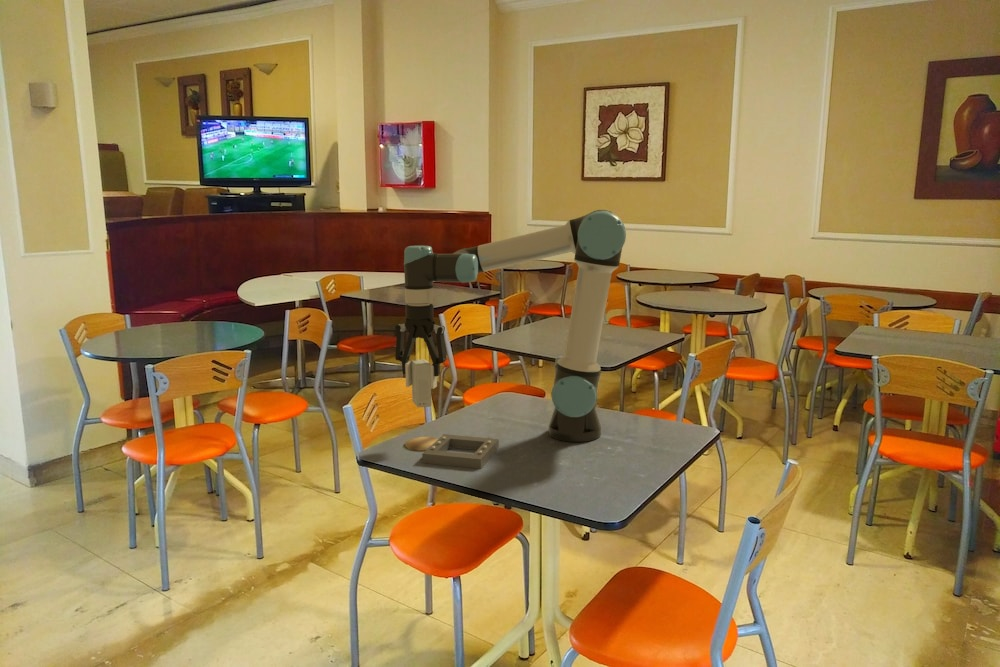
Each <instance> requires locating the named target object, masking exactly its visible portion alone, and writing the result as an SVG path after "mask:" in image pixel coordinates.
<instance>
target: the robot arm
mask: <svg viewBox="0 0 1000 667" xmlns="http://www.w3.org/2000/svg"><path fill="white" fill-rule="evenodd" d="M626 236H627V231H626V228H625V225H624V222H623V221H622V219H621V217H619V216H618V215H617V214H616V213H614V212H613V211H610V210H606V209H597V210H593V211H591V212H589V213H587V214H585V215H582V216H580V217H577V218H573V219H568V221H567V222H566V223H565V224H563V225H560V226H556V227H551V228H547V229H543V230H538V231H535V232H528V233H526V234H522V235H518V236H513V237H509V238H505V239H500V240H497V241H493V242H492V241H491V242H489V243H484V244H479V245H477V246H472V247H468V248H467V247H466V248H461V249H457V250H456V251H455V252H453V253H435V252H433V248H432V246H431V245H430V246H429V245H408V246H406V247H405V248H404V252H403V253H404V255H403V257H404V259H403V271H404V272H403V274H404V302H405V304H406V305H405V322H404V323H399V324H396V325H395V326H394V328H395V332H396V338H395V339H396V342H395V355H394V356H395V360H396V361H399V362H401V364H402V365H401V366H402V374H403V375H405V387H406V388H409V387H410V386H411V387H412V370H411V359H410V357H411V354H412V351H413V349H414V346H415V345H414V344H415V342H416V339H418V338H419V339H423V342H425V345H426V348H427V350H428V352H429V357H430V358H431V361H432V364H431V365H430V371H431V390H432V389H433V390H434V389H435V388H437V387H438V377H439V376H440V375H441V370H440V369H441V364H443V363H445V362H447V353H446V344H445V335H444V333H445V331H446V330H445V329H446V327H445V325H438V324H436V322H435V320H434V317H435V316H434V312H435V311H434V309H435V308H434V305H433V302H434V283H439V282H440V283H443V282H444V283H462V284H465V283H474V282H476V281H477V279H478V274H481V273H485V272H490V271H494V270H499V269H503V268H507V267H510V266H511V267H512V266H516V265H521V264H524V263H529V262H534V261H537V260H541V259H546V258H551V257H555V256H559V255H565V254H568V253H572V254H574V259H573V260H574V261H573V262H575V263H576V265H577V267H578V270H577V275H576V276H577V277H576V281H575V282H576V283H575V287H574V288H575V289H574V294H573V301H572V306H571V313H570V317H569V318H570V319H569V325H568V331H567V336H566V343H565V349H564V353H563V354H564V355H559V356H557V357H555V363H554V381H553V385H552V388H551V394H550V395H551V400H552V403H553V406H554V409H553V412H552V415H551V418H550V421H549V424H548V435H549V436H550V437H551V438H553V439H555V440H558V441H561V442H562V441H563V442H570V443H582V442H590V441H594V440H597V439H599V438H600V437H601V435H602V425H601V422H600V419H599V416H598V413H597V410H596V404H597V401H598V386H599V380H600V374H601V369H602V368H601V366H600V365H599V363H598V362H597V358H598V354H599V348H600V341H601V336H602V330H603V324H604V318H605V314H606V306H607V302H608V297H609V290H610V285H611V280H612V274H613V273H614V271H615V270H617V269H618V268H619V267H620V261H621V256H622V251H623V247H624V245H625V242H626V240H627V239H626ZM406 330H407V332H408V337H407V341H406V345H405V346H404V344H405V331H406ZM433 330H434V333H435V334H436V345H435V342H434V338H433V335H432V334H433V333H432V332H433ZM436 346H437V348H436Z"/></svg>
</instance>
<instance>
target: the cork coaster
mask: <svg viewBox="0 0 1000 667" xmlns="http://www.w3.org/2000/svg"><path fill="white" fill-rule="evenodd" d="M438 439H439V438H437V437H433V436H419V437H413V438H410V439H408V440H406V441H405V444H404V445H405V448H406V449H408V450H410V451H416V452H425V451H426V450H427V449H428V448H429V447H430V446H431V445H432V444H434V443H435V442H436V441H437V440H438Z"/></svg>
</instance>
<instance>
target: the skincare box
mask: <svg viewBox="0 0 1000 667" xmlns="http://www.w3.org/2000/svg"><path fill="white" fill-rule="evenodd" d="M410 362H411V370H412V385H411V394H412V396H411V397H412V402H413V404H414V405H415V406H416V407H417V408H430V407H432V389H431V371H430V365H432V364H431V363H430V362H429V361H428V360H427V359H425V358H424V359H423V358H422V359H410Z"/></svg>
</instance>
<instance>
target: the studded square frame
mask: <svg viewBox="0 0 1000 667" xmlns="http://www.w3.org/2000/svg"><path fill="white" fill-rule="evenodd" d="M499 440H500V439H499V438H492V437H491V438H489V437H481V436H468V435H457V434H456V435H455V434H443V435H441V436H440V437H439V438H438V440H437V441H436V442H435V443H434V444H432V445H431V446H430V447H429V448H428V449H427V450H426V451H423V452H422V463H423V464H430V465H431V464H432V465H440V466H442V465H443V466H451V467H463V468H471V469H482V468H483V467H484V466H485V464H486V463H487V462H488V461H489V460H490V459H491V457H493V455H494V454H495V453H496V452H497V450H499V448H500V445H499V444H500V442H499ZM450 448H456V449H466V450H476V451H475V452H474V453H466V452H465V453H463V452H454V451H448V450H449V449H450Z"/></svg>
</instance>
